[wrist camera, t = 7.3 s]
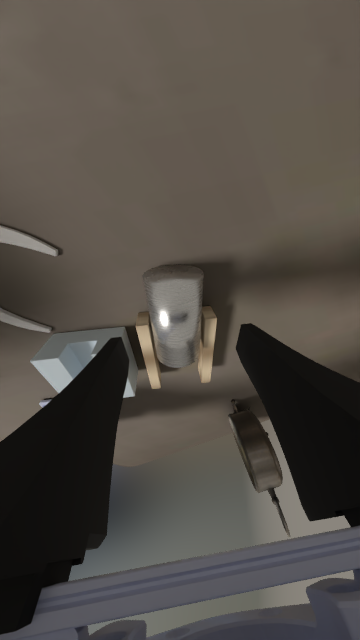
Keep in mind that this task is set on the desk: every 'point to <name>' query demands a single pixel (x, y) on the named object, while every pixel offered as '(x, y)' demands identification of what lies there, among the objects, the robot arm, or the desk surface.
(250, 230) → the desk surface
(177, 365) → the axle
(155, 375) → the wooden rails
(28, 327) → the pliers
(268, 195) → the desk surface
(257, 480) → the alarm clock
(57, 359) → the v block
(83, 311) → the desk surface
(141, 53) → the desk surface
